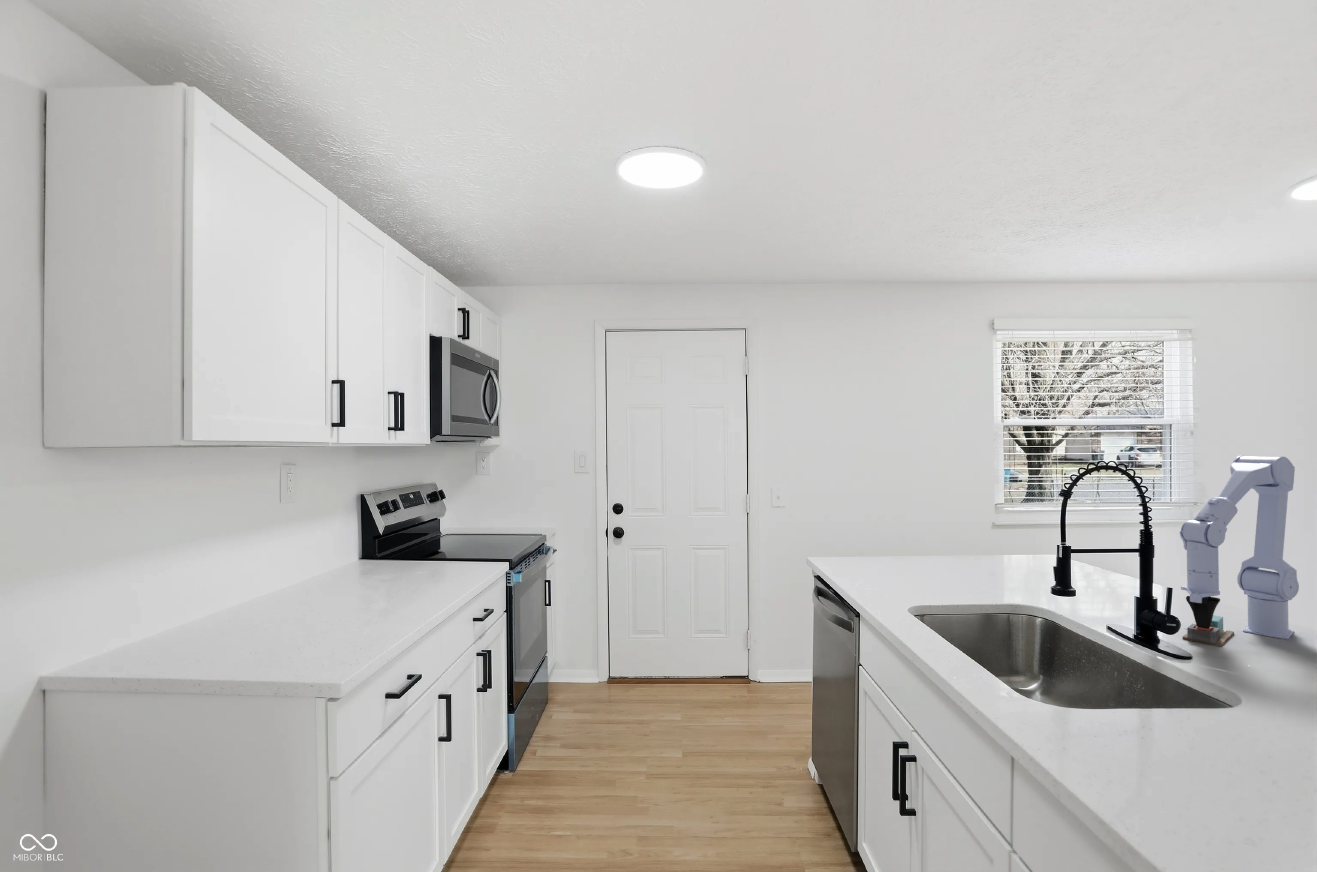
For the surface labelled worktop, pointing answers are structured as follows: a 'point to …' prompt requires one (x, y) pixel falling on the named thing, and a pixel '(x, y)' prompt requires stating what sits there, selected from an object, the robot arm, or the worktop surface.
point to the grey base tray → (1208, 635)
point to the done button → (1204, 628)
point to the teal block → (1217, 622)
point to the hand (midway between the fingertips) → (1203, 627)
